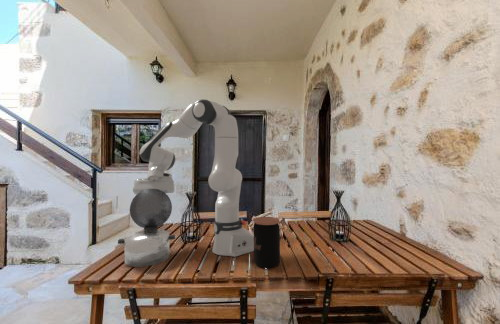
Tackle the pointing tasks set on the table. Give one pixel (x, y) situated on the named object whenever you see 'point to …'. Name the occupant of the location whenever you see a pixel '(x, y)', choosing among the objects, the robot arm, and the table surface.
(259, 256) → the coffee jar
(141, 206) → the lid
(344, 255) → the table surface
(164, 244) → the pot
